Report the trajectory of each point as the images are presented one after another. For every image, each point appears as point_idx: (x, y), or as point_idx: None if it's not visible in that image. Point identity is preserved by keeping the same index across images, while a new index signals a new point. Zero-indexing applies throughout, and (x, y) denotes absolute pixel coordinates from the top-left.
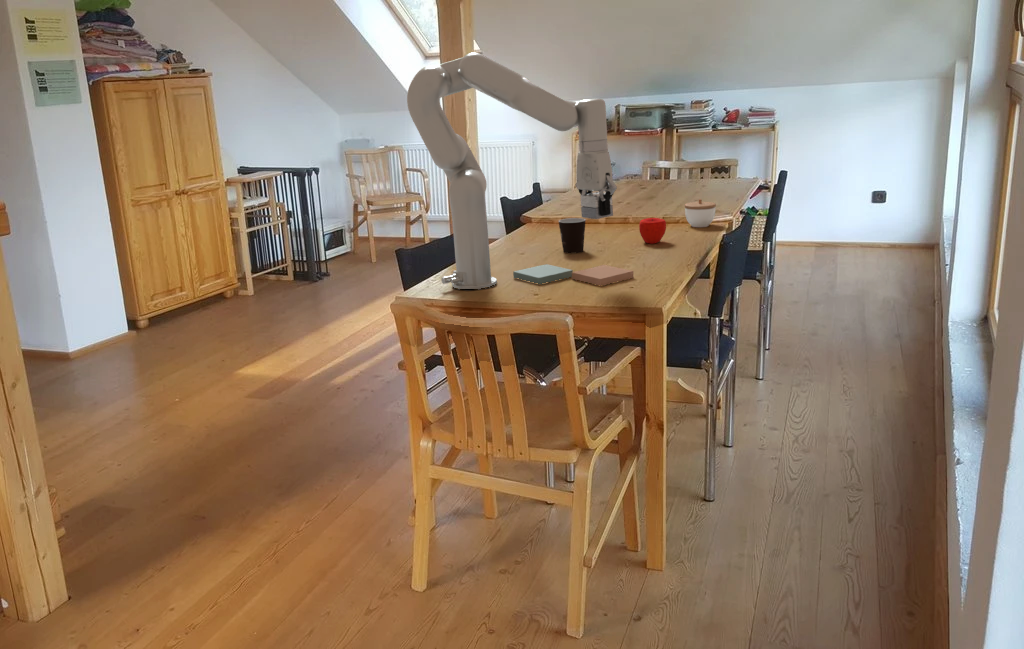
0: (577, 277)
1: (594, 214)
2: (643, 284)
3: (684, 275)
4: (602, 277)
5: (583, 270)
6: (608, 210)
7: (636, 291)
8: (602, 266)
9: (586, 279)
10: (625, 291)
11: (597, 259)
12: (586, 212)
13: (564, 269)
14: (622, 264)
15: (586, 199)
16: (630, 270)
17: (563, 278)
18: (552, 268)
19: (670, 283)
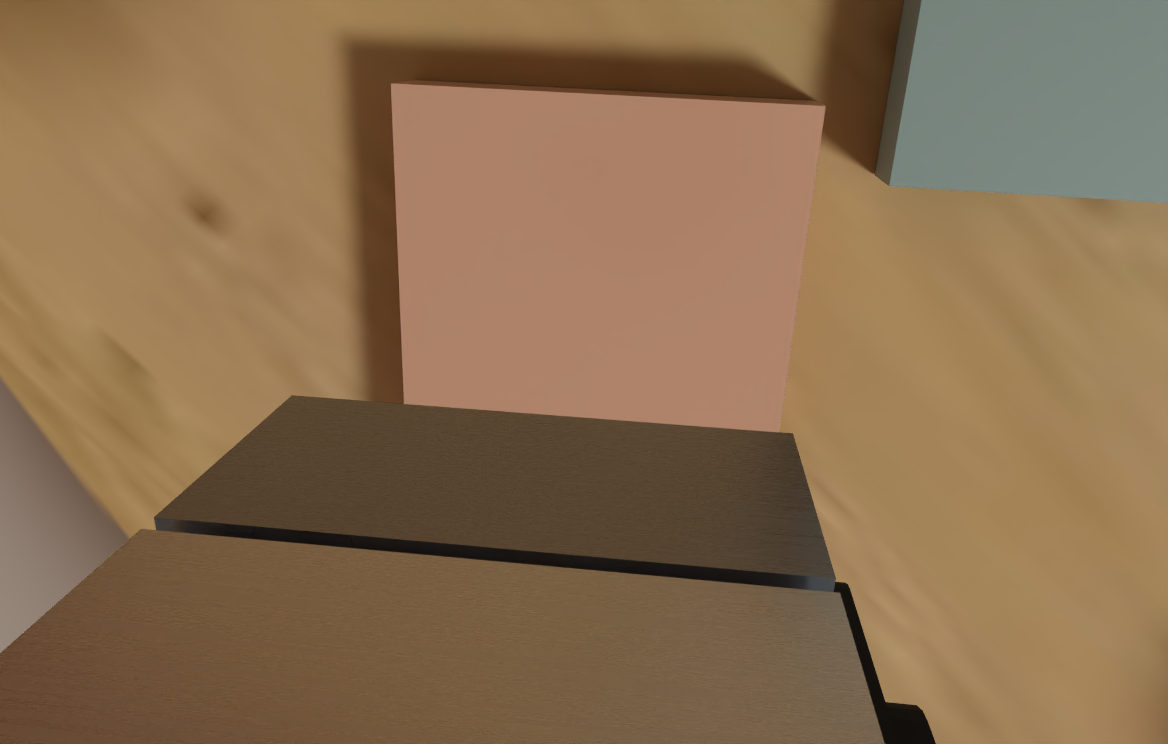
0: (732, 98)
1: (304, 442)
2: (222, 335)
3: None
4: (421, 139)
5: (779, 238)
6: None
7: (84, 143)
8: None
9: (598, 92)
10: (137, 87)
11: (1116, 732)
12: (603, 480)
13: (987, 152)
14: None
15: (499, 739)
16: None
17: (897, 51)
18: (1150, 106)
19: (121, 459)
